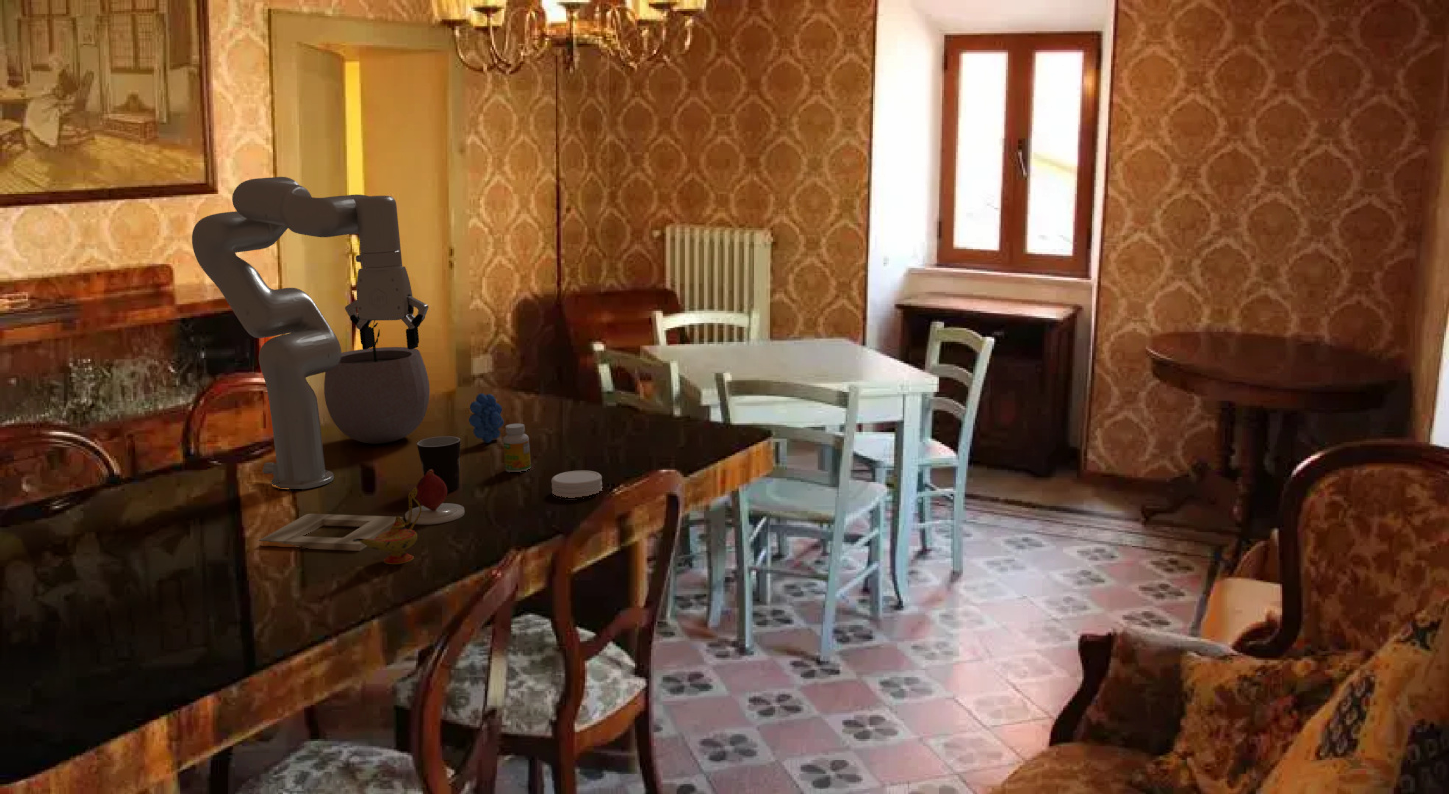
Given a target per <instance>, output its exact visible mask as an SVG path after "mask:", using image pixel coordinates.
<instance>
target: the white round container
mask: <svg viewBox="0 0 1449 794" xmlns="http://www.w3.org/2000/svg"><path fill="white" fill-rule="evenodd" d="M602 479H603V476H602V474H600V473H599V472H597V471H593V470H572V471H571V470H569V471H565V472H560V473H557V474H556V475H554V476H552V478H551V481H550V482H551V489H552V491H551V493H552V495H553V494H554V495H556V496H560V497H561V496H562V497H565V498H566V497H568V498H575V497H582V496H589V495H592V494H596V493H599V491H603V490H602V488H603V481H602ZM554 495H553V496H554Z"/></svg>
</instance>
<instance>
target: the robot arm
mask: <svg viewBox="0 0 1449 794" xmlns="http://www.w3.org/2000/svg"><path fill="white" fill-rule="evenodd" d="M231 199H232V204H233V205H232V206H233V208H234V209H235V211H228V212H226V211H225V212H219V213H213V214H210V215H207V216H205V217H203V218H201V219H200V220H198V221H197V223H195V225H194V227H193V228H192V234H191V243H192V250H193V254H194V256H195V259H196V262H197V263H198V264H199V267H201V269H202V271H203V272H204V273H205V274H206V275H207V277H208V278H209V279H210V280H211V282H213V283H214V284H215V286H216V287H217V288H218V290H219V291H220V293H221V294H222V295H223V298H224V299H225V300H226V302H227V304H228V306H229V307H230V308H231V311H232V312H233V313H234V315H235V316H236V318H237V319H238V321H239V322H240V324H241V325H242V328H244V330H245V331H246V332H247V333H248V334H249V335H250V336H252V337H253V338H256V339H264V338H270V339H268V340H267V341H265V342H264V343H263V344H262V346H261V347H260V348H259V349H260V350H259V351H258V363H259V367H260V371H261V374H262V377H263V379H264V383H265V386H266V390H267V396H268V404H269V410H270V412H269V413H270V416H271V417H270V418H271V419H270V420H271V425H272V434H273V435H272V436H273V442H274V451H275V461H276V462H265V463H264V464H263V468H262V473H263V474H268V475H269V474H272V475H273V478H272V479H271V480H272V481H271V482H270V484H271V483H272V484H273V485H276V486H278V487H280V488H289V489H302V490H308V489H313V488H318V487H322V486H324V485H327V484H330V483H331V482H332V481H333V480H334V478H335V476H334V473H333V472H332V471H331V470H326V465H325V456H324V447H323V446H324V445H323V440H322V430H321V422H320V413H319V404H318V403H319V402H318V398H317V395H316V393H315V391H314V389H313V388H312V386H311V385H310V383H309V382H308V381H307V379H306V378H308V377H311V376H315V375H319V374H320V375H321V374H323V373H324V374H325V372H327V371H330V370H332V369H334V368H335V367H336V366H337V365H338V364H339V362H340V360H341V353H342V347H341V344H340V341H339V339H338V337H337V336H336V333H335V332H334V330H333V328H332V327H331V326H330V324H329V323H328V321H327V320H326V318H325V317H324V315H323V314H322V312H321V311H320V309H319V307H318V306H317V304H316V303H315V301H314V299H312V298H311V296H310V295H309V294H308V293H306V291H303V290H302V289H299V288H296V287H285V288H276V289H275V288H274V289H273V288H270V287H269V286H268V285H267V283H266V282H265V281H264V279H263V278H262V276H261V275H260V273H259V271H258V270H257V269H256V268H255V267H254V266H253V265H252V264H250V263H249V262H247V261H246V260H244V259H242V258H241V257H239V256H238V255H237V254H236V253H243V252H244V253H245V252H250V251H252V252H253V251H259V250H264V249H267V248H269V247H271V246H273V245H275V244H276V243H277V241H279V239H280V238H281V237H282V236H283V235H284V234H285V232H286V231H287V230H288V229H289V230H290V231H291V232H293V233H294V234H298V235H303V236H309V237H316V238H331V237H332V238H333V237H340V236H346V235H354V234H358V239H359V241H358V242H359V249H360V250H359V251H360V253H359V255H355V261H356V262H357V263H360V264H361V268H358V271H357V276H356V277H357V278H356V299H355V300H354V301H352V302H350V303H349V304H347V305H345V307H344V309H345V312H346V313H347V315H348V317H349V320H350V321H351V322H352V323H353V324H354V325H355V327H356V329H357V330H359V337H360V344H361V349H369V348H373V346H374V345H373V335H372V328H373V327H372V326H370V324H371V323H372V321H374V320H375V321H398V320H399V321H400V320H401V322H403V323H404V324H405V325H406V326H407V328H406V329H405V337H406V338H405V339H406V345H407V347H406V348H408V349H417V348H418V347H419V343H420V337H419V327H420V325H421V324H422V323H423V321H424V320H425V318H426V315H427V313H428V310H429V305H428V304H427V303H425V302H423V301H421V300H419V299H418V298H416V297H414V296H413V290H412V286H411V285H412V284H411V282H410V281H411V280H410V277H409V275H408V271H407V269H406V268H407V267H406V266H403V259H402V251H401V238H400V237H401V236H400V228H399V218H398V207H397V201H396V200H395V198H394V197H393V196H392V195H365V194H346V195H337V196H336V195H335V196H334V195H333V196H325V197H314V196H313V197H312V195H311V192H310V191H309V190H308V189H307V188H306V187H304V186H302V185H300V184H299V183H298V182H297V181H296V180H295V179H293V178H291V177H287V176H273V177H261V178H259V177H258V178H250V179H248V180H245V181H242V182H240V183H239V184H238V185H237V186H236V187H235V188H234V190H233V193H232V198H231ZM415 309H417V314H416V315H414V313H415V312H414V310H415ZM271 337H272V338H271ZM272 484H271V485H272Z"/></svg>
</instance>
